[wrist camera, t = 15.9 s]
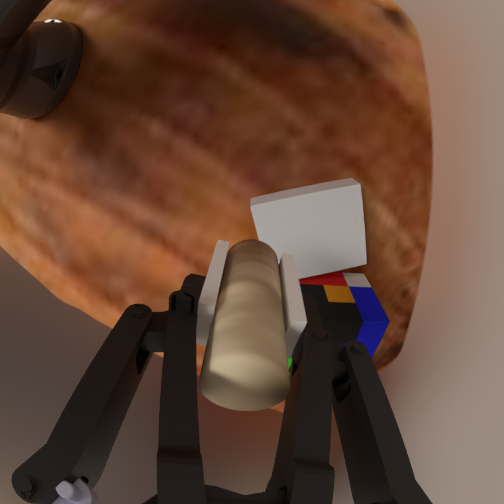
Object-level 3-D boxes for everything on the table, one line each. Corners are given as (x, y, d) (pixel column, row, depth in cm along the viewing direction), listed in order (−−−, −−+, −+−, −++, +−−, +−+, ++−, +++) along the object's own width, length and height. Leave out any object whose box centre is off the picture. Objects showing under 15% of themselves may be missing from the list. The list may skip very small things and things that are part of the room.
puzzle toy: (363, 273, 35) (389, 321, 26) (345, 327, 40) (361, 376, 31) (293, 269, 35) (303, 320, 26) (283, 325, 40) (287, 378, 31)
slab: (251, 196, 31) (250, 206, 28) (350, 176, 30) (360, 183, 27) (269, 269, 36) (270, 284, 33) (358, 250, 34) (366, 264, 31)
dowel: (221, 279, 19) (196, 403, 10) (230, 234, 18) (202, 354, 9) (270, 289, 20) (275, 414, 11) (284, 245, 18) (302, 369, 9)
